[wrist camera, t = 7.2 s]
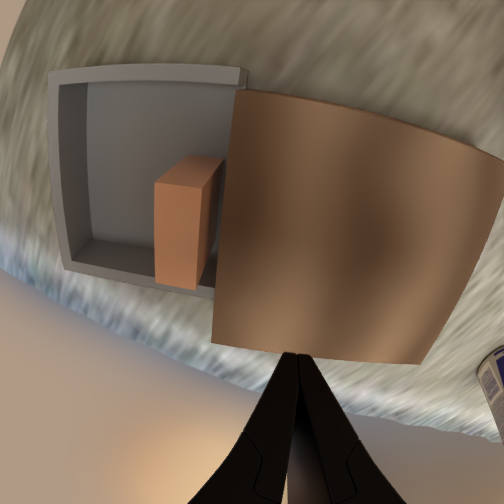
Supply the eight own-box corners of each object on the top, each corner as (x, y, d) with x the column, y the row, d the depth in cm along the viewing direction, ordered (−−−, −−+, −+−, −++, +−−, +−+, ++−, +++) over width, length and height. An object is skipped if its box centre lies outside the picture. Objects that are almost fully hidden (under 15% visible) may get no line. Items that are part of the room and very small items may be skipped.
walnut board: (475, 147, 15) (512, 166, 12) (405, 326, 22) (420, 364, 19) (246, 88, 15) (235, 89, 12) (221, 302, 22) (211, 342, 19)
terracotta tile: (202, 188, 12) (154, 182, 12) (195, 290, 15) (155, 282, 15) (223, 158, 17) (187, 154, 17) (215, 240, 19) (183, 235, 19)
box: (248, 70, 15) (240, 67, 12) (225, 266, 21) (215, 299, 18) (83, 69, 15) (48, 71, 12) (89, 243, 21) (63, 269, 18)
